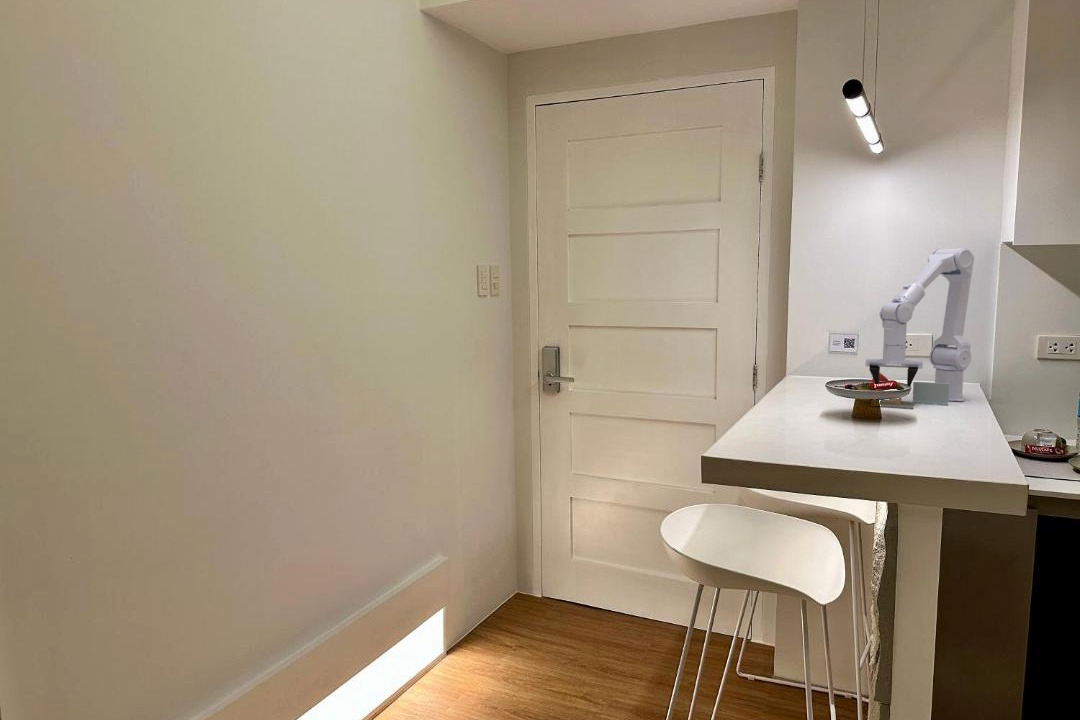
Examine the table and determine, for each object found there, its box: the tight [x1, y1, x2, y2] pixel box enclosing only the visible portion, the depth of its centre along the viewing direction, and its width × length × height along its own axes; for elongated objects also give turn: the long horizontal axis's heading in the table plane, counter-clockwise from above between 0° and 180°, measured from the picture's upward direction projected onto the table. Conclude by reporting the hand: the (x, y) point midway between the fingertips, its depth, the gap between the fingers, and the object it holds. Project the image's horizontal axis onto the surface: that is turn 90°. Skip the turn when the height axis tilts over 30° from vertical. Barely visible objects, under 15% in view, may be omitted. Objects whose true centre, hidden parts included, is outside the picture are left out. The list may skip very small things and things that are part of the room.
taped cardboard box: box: [882, 397, 903, 405], centre depth 213 cm, size 5×5×5 cm
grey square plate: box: [880, 399, 915, 410], centre depth 214 cm, size 11×11×1 cm
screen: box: [911, 381, 949, 406], centre depth 215 cm, size 3×9×6 cm, turn 62°
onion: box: [869, 372, 890, 383], centre depth 224 cm, size 6×6×8 cm
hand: (892, 392), depth 214 cm, fingers open, 7 cm apart
